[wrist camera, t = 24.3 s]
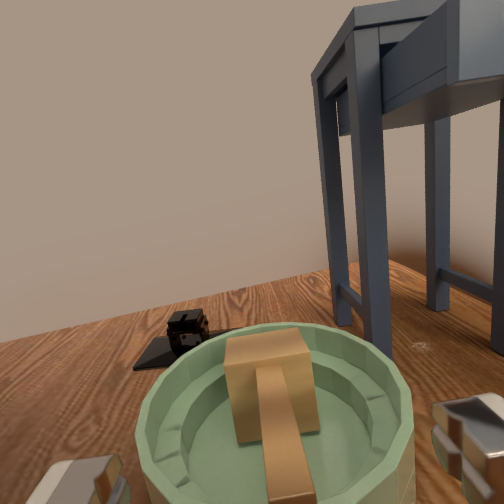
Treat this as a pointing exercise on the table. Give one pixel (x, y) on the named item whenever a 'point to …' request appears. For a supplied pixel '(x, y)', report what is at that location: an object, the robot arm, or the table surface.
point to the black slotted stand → (177, 339)
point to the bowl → (315, 442)
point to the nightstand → (400, 115)
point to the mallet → (275, 407)
